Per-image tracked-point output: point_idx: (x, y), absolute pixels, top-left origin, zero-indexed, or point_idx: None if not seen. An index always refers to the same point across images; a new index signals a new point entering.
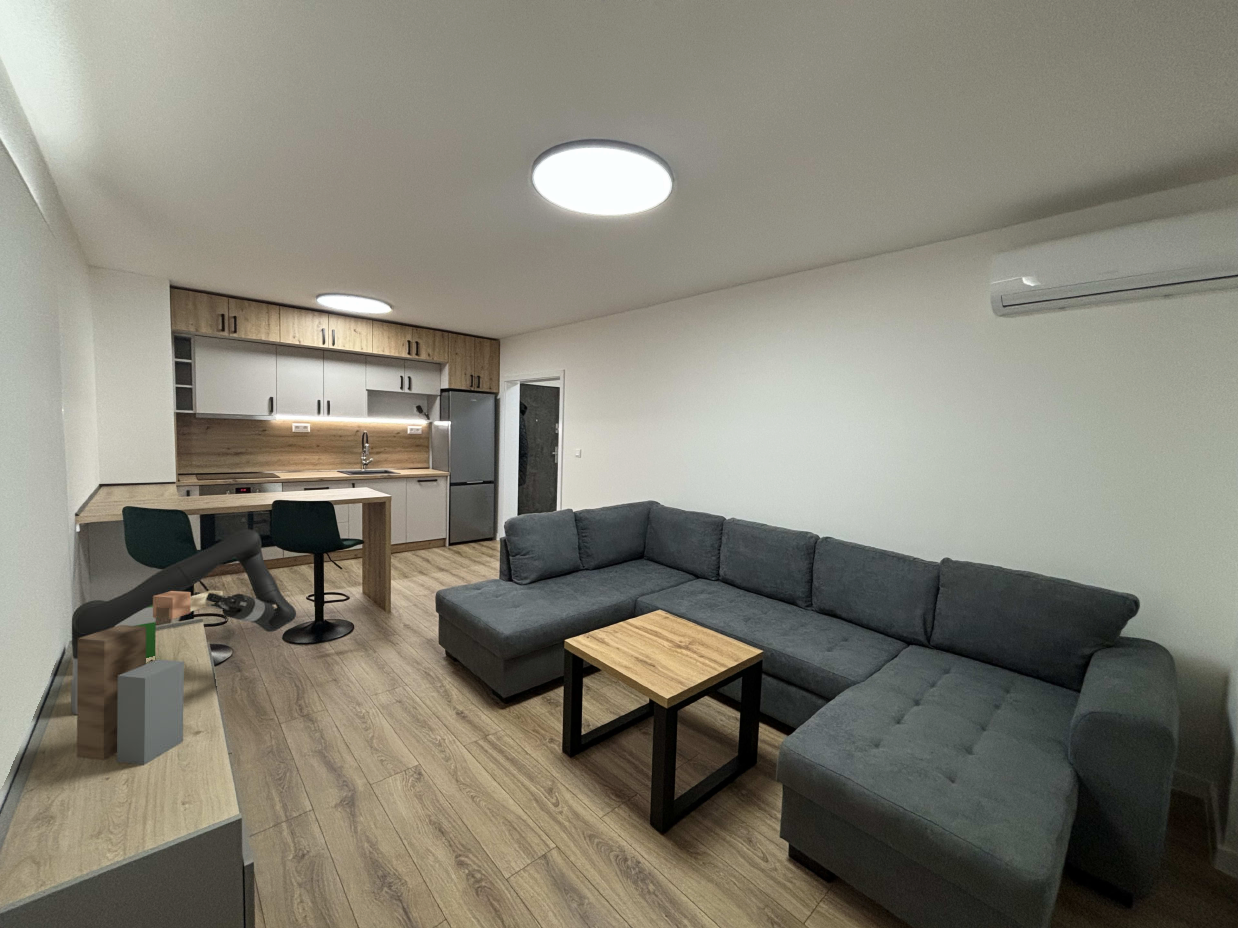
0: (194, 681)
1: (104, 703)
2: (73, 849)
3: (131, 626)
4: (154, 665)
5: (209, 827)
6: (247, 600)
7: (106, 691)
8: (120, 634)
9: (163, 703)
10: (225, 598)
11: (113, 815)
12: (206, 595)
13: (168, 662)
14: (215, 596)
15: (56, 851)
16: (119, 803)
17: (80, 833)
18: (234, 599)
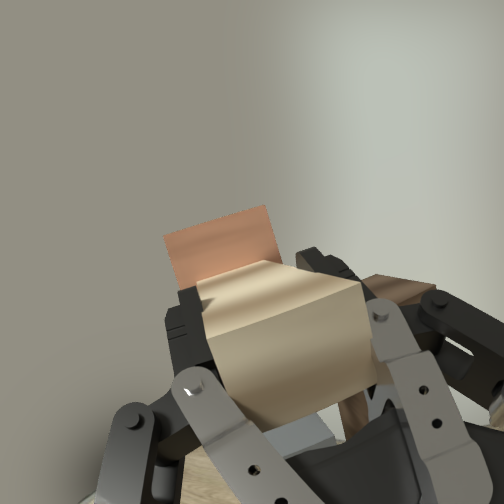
0: None
1: (343, 426)
2: (185, 459)
3: (398, 301)
4: (289, 428)
5: (88, 500)
6: None
7: (340, 409)
8: None
9: None
10: (158, 407)
11: (198, 484)
12: (218, 297)
13: (278, 449)
14: (167, 331)
15: (197, 454)
16: (213, 492)
17: (202, 466)
18: (138, 487)
